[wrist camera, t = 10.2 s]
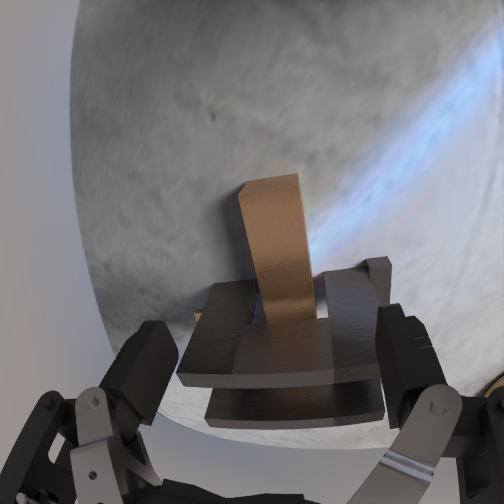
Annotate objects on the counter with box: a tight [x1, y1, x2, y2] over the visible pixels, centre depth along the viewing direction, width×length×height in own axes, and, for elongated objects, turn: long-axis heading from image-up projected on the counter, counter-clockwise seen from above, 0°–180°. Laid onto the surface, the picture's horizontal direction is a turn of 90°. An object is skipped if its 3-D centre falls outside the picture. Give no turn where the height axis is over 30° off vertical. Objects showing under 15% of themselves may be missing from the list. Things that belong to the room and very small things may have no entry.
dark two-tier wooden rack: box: [176, 256, 392, 430], centre depth 23 cm, size 9×19×11 cm, turn 102°
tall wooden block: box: [238, 173, 317, 323], centre depth 24 cm, size 19×4×4 cm, turn 12°
